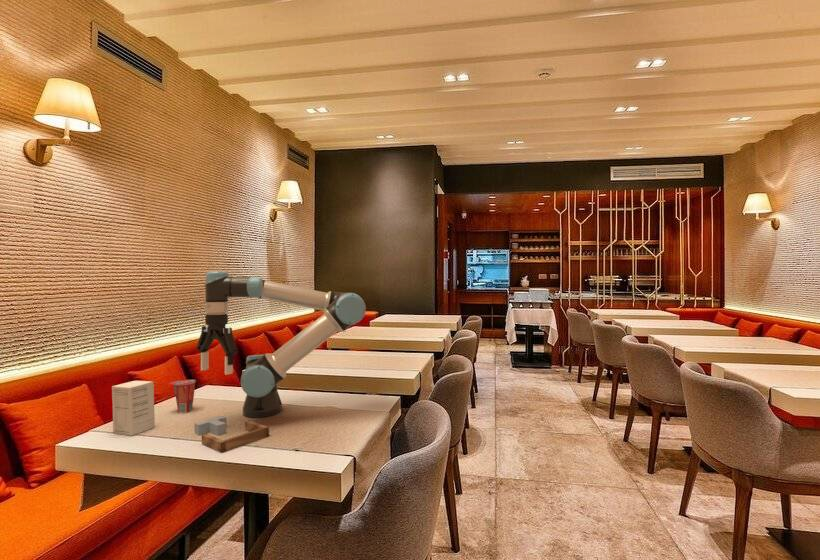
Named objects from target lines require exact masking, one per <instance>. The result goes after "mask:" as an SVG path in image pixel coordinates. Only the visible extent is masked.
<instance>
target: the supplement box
mask: <svg viewBox="0 0 820 560" xmlns="http://www.w3.org/2000/svg"><path fill="white" fill-rule="evenodd" d="M111 399H112V400H111V401H112V431H113V433H112V434H116V435H124V436H131V437H132V436H134V435H135V436H136V435H138V434H140V433H144V432H147V431H148V430H151V429H153V428H156V425H155V424H156V422H155V419H156V417H155V415H156V414H155V389H154V381H148V380H147V381H146V380H132V381H128V382H124V383H120V384H117V385H116V384H115V385H112V386H111Z"/></svg>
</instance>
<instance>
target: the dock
mask: <svg viewBox="0 0 820 560" xmlns="http://www.w3.org/2000/svg"><path fill="white" fill-rule="evenodd" d="M244 424H245V425H244V430H245V431H247V432H245V433H242V434H241V433H240V434H239V435H236V436H232V437H229V438H226V439H224V440H223V439H220V438H217V437H216V436H213V435H211V434H209V433H205V434H201V445H202V446H206V447H207V448H210V449H212V450H214V451H216V452H218V453H222V454H223V453H224V452H227V451H230V450H233V449H236V448H238V447H242V446H244V445H246V444H247V445H248V444H250V443H253V442H256V441H259V440H261V439H265V438H268V437H269V436H270V426H267V425H264V424H261V423H258V422H255V421H251V420H246V421H244Z"/></svg>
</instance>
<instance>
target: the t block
mask: <svg viewBox="0 0 820 560" xmlns="http://www.w3.org/2000/svg"><path fill="white" fill-rule="evenodd" d="M209 433H210V434H213V435H216V436H217V437H219V436H222V435H225V434H227V417H226V416H224V415H220V416H216V417H213V418H210V419H205V420H202V421H199V422H195V423H194V434H195V435H197V436H202V435H203V434H209Z"/></svg>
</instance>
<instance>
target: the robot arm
mask: <svg viewBox="0 0 820 560" xmlns="http://www.w3.org/2000/svg"><path fill="white" fill-rule="evenodd" d="M204 285H205V286H204V287H205V288H204V289H205V300H204V301H205V313H206V314H205V318H204V321H205V322H204V323H205V325H203V326H201V332H200V335H199V339H198V341H197V345H196V347H195V348H196V351H199V353H200V371H201V372H202V371H207V370H209V368H210V367H209V365H210V364H209V363H210V361H209V360H210V359H209V358H210V357H209V356H210V355H209V354H210V352H209V349H210V347H211V345H212V343H213V342H214V340H217V341H218V342H219V343H220V345H221V346H222V350H224V352H225V355H224V375H226V376H228V375H231V374H233V373H234V370H233V369H234V367H233V366H234V356H235V355H238V354H239V351H238V347H237V345H236V341H235V338H234V336H233V328H232V327H226V325H227V324H228V323H229V314H227V313H228V312H229V298H252V299H253V298H258V299H263V300H267V301H273V302H277V303H278V302H279V303H283V304H288V305H292V306H293V305H294V306H299V307H303V308H309V309H312V310H317V311H323V314H322V315H321V316H319V317H318V318H317V319H315V321H313V322H311V324H309V325H307V326H306V327H305V328H303V329H302V330H301V331H300V332H298V333H297V334H296V335H294V337H292V338H291V339H290V340H288V341H286V342H285V343H284V344H283V345H281V347H279V348H278V349H277V350H275V351H274V352H273V353H269V352H268V353H264V354H254V355H253V354H252V355H248V356H246V361H245V364H246V366H245V370H243V372H242V373H241V376H240V386H241V389H242V391H243V392H244V393H245V394H246V395H245V396H246V397H245V399H244V402H243V406H242V415H243V416H244V417H248V418H263V417H264V418H265V417H269V416H274V415H277V414H279V413H280V412H282V411H283V402H282V400H281V397H280V395H279V392H278V391H279V390H278V384H279V383H281V382H282V381H283V380H284V379H285V378H286V375H287V372H288V371H289V370H290V369H291V368H293V367H294V366H295V365H296V364H298V363H299V362H301V360H303V359H304V358H306V357H307V356H308V355H310V354H311V353H312V352H313V351H314V350H316V349H317V348H318V347H319V346H321V345H322V344H323V343H325V342H326V341H327V340H329V338H331V337H332V336H333V335H335V334H336V333H337V332H338V333H339V332H340V333H341V332H342V333H343V332H345V331H346V330H347V329H349V328H350V327H351V326H353V325H357V323H359V322H361V320H363V318H364V317H365V314H366V309H367V308H366V307H367V306H366V303H365V301H364V300H363V298H362V297H361V295H358V294H357V293H355V292H336V291H331V290H330V291H328V292H326V291H325V292H324V291H320V290H315V289H309V288H305V287H300V286H295V285H290V284H285V283H281V282H276V281H272V280H268V279H267V280H266V279H262V277H259V276H229V272H228V271H219V270H218V271H215V270H213V271H207V272H206V274H205V283H204Z"/></svg>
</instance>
